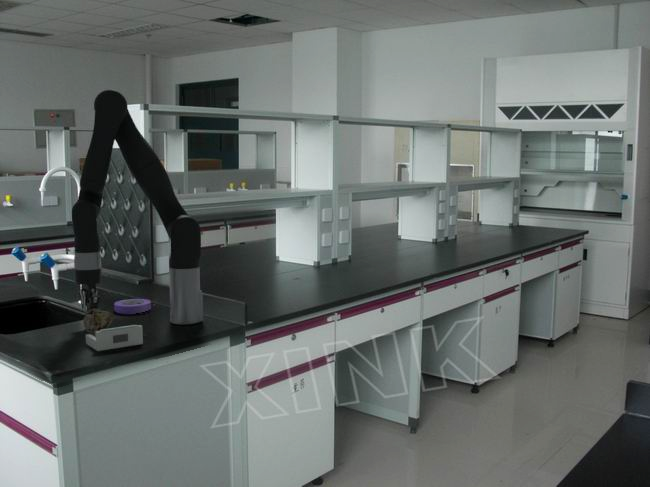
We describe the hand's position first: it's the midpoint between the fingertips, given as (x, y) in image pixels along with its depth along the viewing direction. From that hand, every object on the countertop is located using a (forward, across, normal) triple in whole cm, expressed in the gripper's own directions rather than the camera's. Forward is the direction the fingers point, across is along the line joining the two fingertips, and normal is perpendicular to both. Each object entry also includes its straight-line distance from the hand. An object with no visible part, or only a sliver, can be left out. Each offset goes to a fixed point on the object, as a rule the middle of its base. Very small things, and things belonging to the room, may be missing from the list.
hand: (90, 324), depth 201 cm
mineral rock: (+2, -8, 0) cm, 8 cm away
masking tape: (+2, +15, -19) cm, 24 cm away
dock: (+2, -20, 0) cm, 20 cm away
